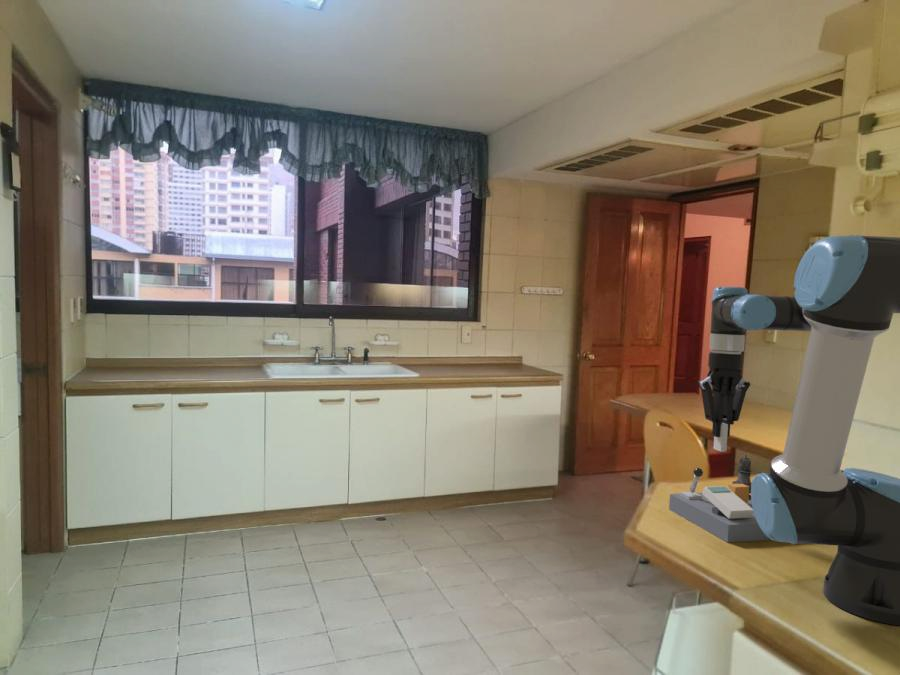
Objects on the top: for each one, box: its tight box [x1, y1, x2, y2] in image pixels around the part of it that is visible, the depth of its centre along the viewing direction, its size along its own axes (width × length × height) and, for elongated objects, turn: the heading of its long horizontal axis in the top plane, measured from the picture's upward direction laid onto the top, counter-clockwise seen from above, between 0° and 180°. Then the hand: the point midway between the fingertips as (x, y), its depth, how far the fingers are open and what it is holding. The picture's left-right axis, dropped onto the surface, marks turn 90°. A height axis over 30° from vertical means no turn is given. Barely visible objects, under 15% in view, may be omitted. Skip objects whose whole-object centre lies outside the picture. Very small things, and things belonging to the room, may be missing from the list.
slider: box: [727, 484, 750, 503], centre depth 148 cm, size 2×4×4 cm, turn 103°
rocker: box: [701, 485, 753, 519], centre depth 141 cm, size 10×6×2 cm, turn 13°
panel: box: [668, 491, 773, 543], centre depth 146 cm, size 22×18×6 cm
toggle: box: [689, 467, 704, 493], centre depth 151 cm, size 2×2×7 cm
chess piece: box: [732, 454, 753, 501], centre depth 167 cm, size 6×6×12 cm
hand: (719, 450), depth 144 cm, fingers closed
